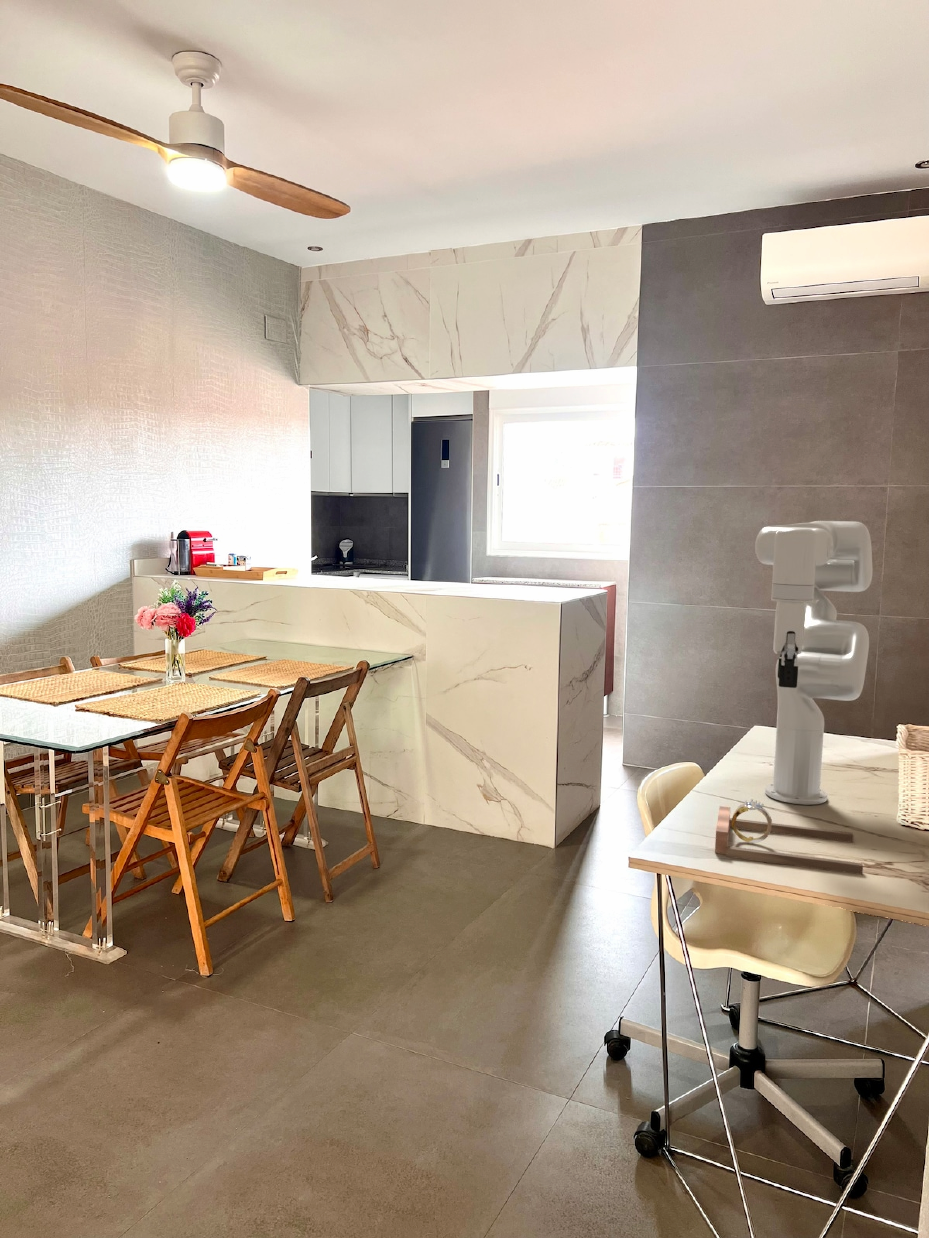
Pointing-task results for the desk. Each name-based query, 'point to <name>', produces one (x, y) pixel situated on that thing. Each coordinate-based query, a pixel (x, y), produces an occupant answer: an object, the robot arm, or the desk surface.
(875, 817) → the desk surface
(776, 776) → the robot arm
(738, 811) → the ring
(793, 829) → the channel
